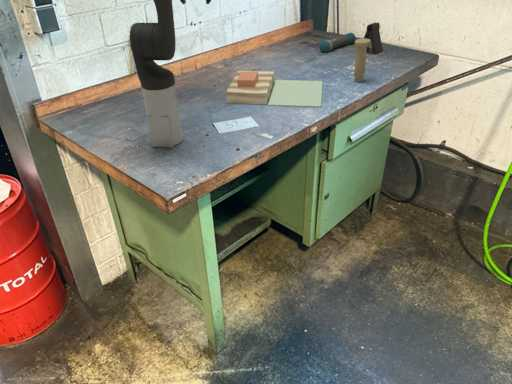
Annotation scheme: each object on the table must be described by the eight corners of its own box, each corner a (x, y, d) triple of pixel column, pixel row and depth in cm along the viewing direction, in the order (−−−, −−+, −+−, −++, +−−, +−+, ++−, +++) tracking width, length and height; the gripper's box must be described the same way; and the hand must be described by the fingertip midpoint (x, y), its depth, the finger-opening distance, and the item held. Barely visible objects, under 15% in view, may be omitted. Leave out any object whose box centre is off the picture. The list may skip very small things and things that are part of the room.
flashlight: (355, 44, 204) (356, 33, 202) (325, 54, 193) (326, 43, 190) (346, 42, 208) (347, 31, 205) (317, 52, 196) (317, 41, 193)
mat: (321, 107, 144) (321, 106, 144) (267, 105, 146) (267, 104, 146) (322, 82, 163) (322, 81, 163) (275, 80, 166) (275, 79, 166)
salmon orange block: (254, 87, 150) (254, 80, 149) (237, 86, 151) (237, 80, 150) (258, 78, 157) (258, 71, 156) (242, 77, 158) (241, 71, 157)
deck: (266, 104, 147) (266, 93, 145) (226, 103, 149) (226, 92, 147) (274, 81, 165) (274, 71, 163) (238, 81, 167) (237, 70, 165)
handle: (348, 82, 162) (352, 41, 154) (357, 77, 166) (361, 37, 158) (359, 84, 160) (364, 43, 151) (368, 80, 164) (373, 39, 155)
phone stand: (358, 51, 195) (361, 23, 188) (365, 47, 198) (368, 20, 191) (375, 54, 189) (379, 26, 183) (382, 51, 193) (386, 23, 186)
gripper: (165, -49, 136) (172, 6, 145) (209, -50, 134) (213, 6, 143) (173, -51, 142) (179, 1, 151) (214, -52, 140) (218, 1, 149)
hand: (196, 3), depth 147 cm, fingers open, 8 cm apart
